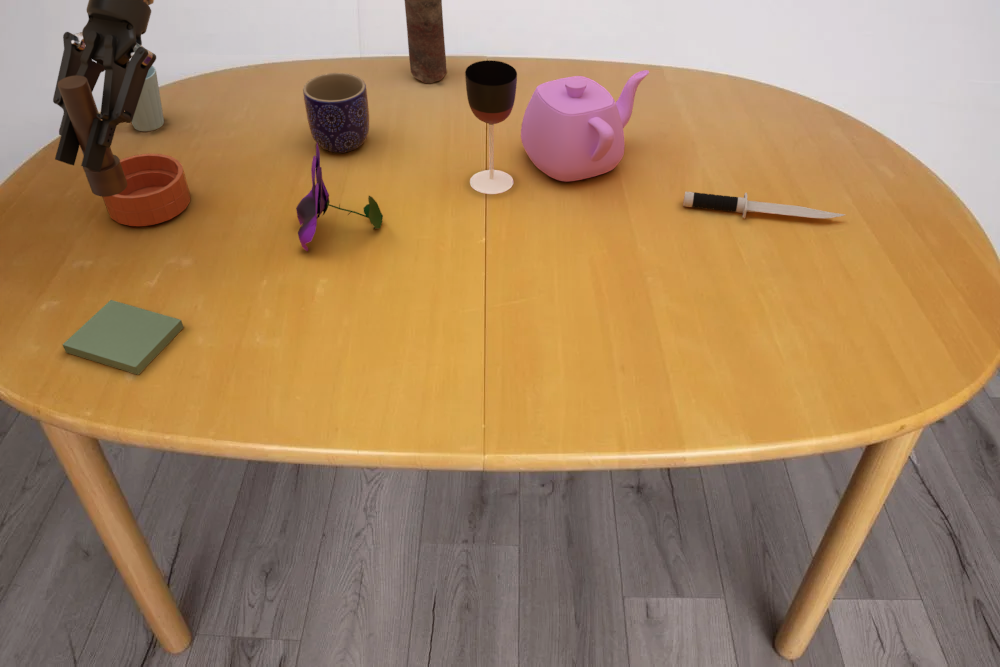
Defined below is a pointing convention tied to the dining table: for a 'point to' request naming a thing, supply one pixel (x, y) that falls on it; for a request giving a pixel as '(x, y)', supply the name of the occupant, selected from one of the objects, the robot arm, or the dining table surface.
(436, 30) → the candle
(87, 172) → the pestle
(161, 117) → the cup
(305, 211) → the flower
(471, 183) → the wineglass
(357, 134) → the planter
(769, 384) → the dining table surface
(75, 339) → the board
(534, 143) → the teapot
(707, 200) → the knife
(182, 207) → the bowl
